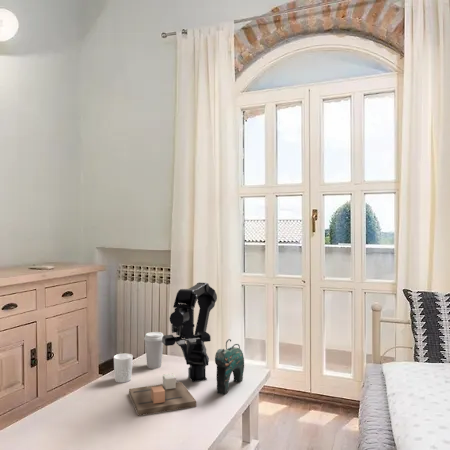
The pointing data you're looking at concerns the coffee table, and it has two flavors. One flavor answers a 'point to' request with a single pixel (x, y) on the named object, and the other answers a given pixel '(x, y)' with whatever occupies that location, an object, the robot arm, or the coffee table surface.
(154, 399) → the block
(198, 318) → the robot arm
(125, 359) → the white cup
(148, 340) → the coffee cup
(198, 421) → the coffee table surface
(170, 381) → the block
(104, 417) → the coffee table surface
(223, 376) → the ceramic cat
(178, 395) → the fader panel
